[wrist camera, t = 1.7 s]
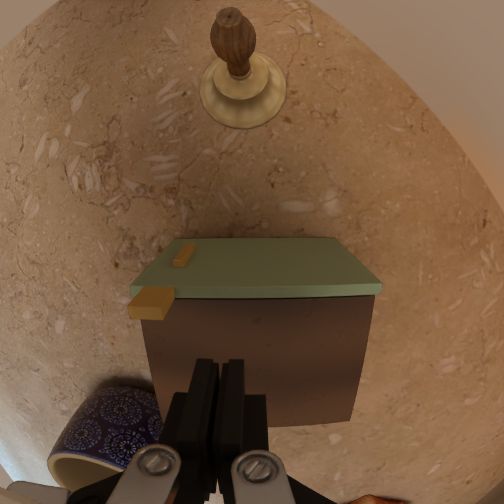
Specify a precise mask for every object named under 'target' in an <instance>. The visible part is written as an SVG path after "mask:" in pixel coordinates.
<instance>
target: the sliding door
mask: <svg viewBox="0 0 504 504" xmlns="http://www.w3.org/2000/svg"><path fill="white" fill-rule="evenodd" d="M381 291H382V282H381V281H380V280H379V279H378V278H377V277H376V276H375V275H374V274H373V273H371V272H370V271H369V270H368V269H367V268H366V267H365V266H364V265H363V264H362V263H361V262H360V261H359V260H358V259H357V258H356V257H355V256H354V255H353V254H352V253H350V252H349V251H348V250H347V249H346V248H345V247H344V246H343V245H342V244H341V243H340V242H339V241H338V240H336V239H335V238H202V239H174V240H173V241H172V242H171V243H170V244H169V245H168V246H167V247H166V248H165V249H164V250H163V251H162V252H161V253H160V254H159V255H158V256H157V257H156V258H155V259H154V260H153V262H152V263H151V264H150V265H149V266H148V267H147V268H146V269H145V270H144V271H143V272H142V273H141V274H140V275H139V276H138V277H137V278H136V279H135V280H134V282H133V283H132V284H131V285H130V292H131V296H132V297H135V298H134V299H133V300H132V301H131V303H130V304H129V305H128V312H129V318H130V319H145V320H163V319H164V317H165V316H166V314H167V312H168V310H169V308H170V306H171V304H172V302H173V301H174V299H175V298H293V297H328V296H354V295H375V294H381Z"/></svg>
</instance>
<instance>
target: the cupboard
mask: <svg viewBox="0 0 504 504" xmlns="http://www.w3.org/2000/svg"><path fill="white" fill-rule="evenodd" d="M374 299H375V295H354V296H328V297H293V298H175V299H174V301H173V302H172V304H171V306H170V308H169V310H168V312H167V314H166V316H165V317H164V319H163V320H145V319H141V325H142V331H143V336H144V342H145V347H146V352H147V357H148V362H149V367H150V371H151V376H152V380H153V385H154V389H155V393H156V397H157V401H158V405H159V409H160V413H161V417H162V421H163V423H165V419H166V416H167V413H168V410H169V407H170V404H171V401H172V397H173V395H174V393H175V392H187V393H188V389H189V386H190V382H191V378H192V375H193V371H194V367H195V364H196V360H197V358H207V359H213V363H219V373H220V379H221V372H222V365H223V363H228V362H229V359H244V366H245V394H266V406H267V425H268V427H287V426H304V425H316V424H327V423H336V422H345V421H350V418H351V414H352V410H353V406H354V402H355V398H356V394H357V390H358V385H359V381H360V376H361V372H362V367H363V362H364V357H365V352H366V347H367V342H368V336H369V330H370V325H371V319H372V312H373V306H374Z"/></svg>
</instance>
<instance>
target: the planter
mask: <svg viewBox="0 0 504 504" xmlns="http://www.w3.org/2000/svg"><path fill="white" fill-rule="evenodd" d="M163 426H164V423H163V421H162V417H161V413H160V409H159V405H158V401H157V397H156V395H155V394H153V393H150V392H148V391H145V390H142V389H139V388H134V387H128V386H114V387H108V388H104V389H101V390H98V391H96V392H94V393H93V394H92V395H90V396H89V397H88V398H87V399H86V400H85V401H84V402H83V403H82V404H81V405H80V407H79V408H78V409H77V410H76V412H75V413H74V414H73V416H72V417H71V419H70V420H69V422H68V424H67V425H66V427H65V428H64V430H63V431H62V433H61V435H60V436H59V438H58V440H57V442H56V443H55V445H54V447H53V449H52V451H51V453H50V455H49V457H48V460H47V466H48V469H49V471H50V473H51V475H52V477H53V478H54V480H55V481H56V482H57V483H58V484H59V485H60V486H61V488H68V489H69V490H70V491H72V492H74V491H76V490H78V489H80V488H83V487H85V486H88V485H90V484H93V483H95V482H98V481H100V480H103V479H105V478H108V477H110V476H112V475H115V474H117V473H119V472H122V471H124V470H126V468H127V466H128V465H129V463H130V461H131V459H132V458H133V456H134V455H135V453H136V452H137V451H138V450H139V449H141V448H142V447H145V446H148V445H151V444H158V442H159V439H160V435H161V432H162V429H163Z"/></svg>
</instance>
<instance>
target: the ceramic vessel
mask: <svg viewBox="0 0 504 504" xmlns="http://www.w3.org/2000/svg"><path fill="white" fill-rule="evenodd" d="M349 504H404V503H403V502H402V501H401V500H388V499H381V498H377V497H375V496H373V495H366V496H363V497H361V498H359V499H357V500H355V501H353V502H351V503H349Z"/></svg>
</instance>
